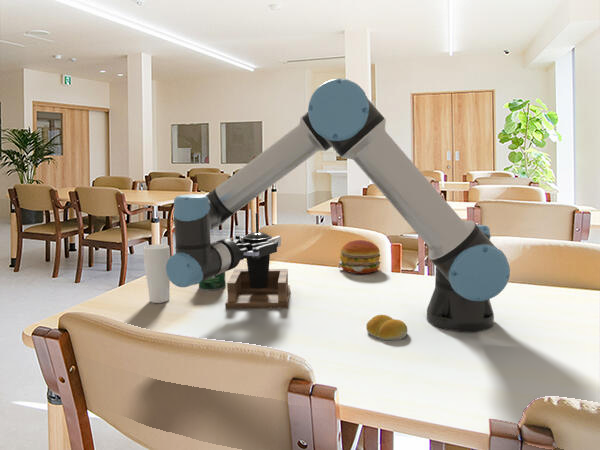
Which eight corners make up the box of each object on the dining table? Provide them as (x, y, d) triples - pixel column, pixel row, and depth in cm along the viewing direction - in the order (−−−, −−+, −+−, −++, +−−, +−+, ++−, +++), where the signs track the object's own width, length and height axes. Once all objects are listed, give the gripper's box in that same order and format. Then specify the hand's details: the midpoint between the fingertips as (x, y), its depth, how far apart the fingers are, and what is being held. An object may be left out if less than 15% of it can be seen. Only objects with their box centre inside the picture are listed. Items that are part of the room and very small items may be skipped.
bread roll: (391, 345, 110) (392, 327, 110) (360, 333, 117) (360, 316, 116) (415, 335, 116) (416, 317, 115) (384, 324, 122) (384, 308, 122)
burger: (379, 276, 163) (380, 245, 161) (336, 275, 166) (336, 244, 164) (380, 266, 176) (381, 237, 175) (340, 265, 179) (340, 236, 177)
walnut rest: (287, 308, 134) (287, 283, 133) (225, 308, 134) (224, 284, 133) (289, 290, 150) (289, 268, 149) (234, 290, 150) (233, 268, 149)
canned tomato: (206, 292, 149) (204, 254, 147) (194, 286, 155) (192, 250, 153) (230, 287, 153) (229, 250, 152) (218, 281, 160) (216, 246, 158)
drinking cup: (260, 281, 147) (258, 210, 144) (278, 286, 142) (277, 212, 138) (238, 286, 142) (236, 213, 138) (257, 292, 136) (255, 216, 133)
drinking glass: (177, 300, 142) (174, 246, 139) (155, 306, 137) (151, 250, 134) (163, 295, 146) (160, 243, 144) (141, 301, 142) (138, 246, 139)
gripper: (185, 268, 129) (236, 249, 149) (256, 277, 120) (299, 256, 140) (184, 238, 127) (235, 223, 148) (255, 245, 119) (299, 228, 139)
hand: (266, 239), depth 144 cm, fingers closed on drinking cup, 7 cm apart
